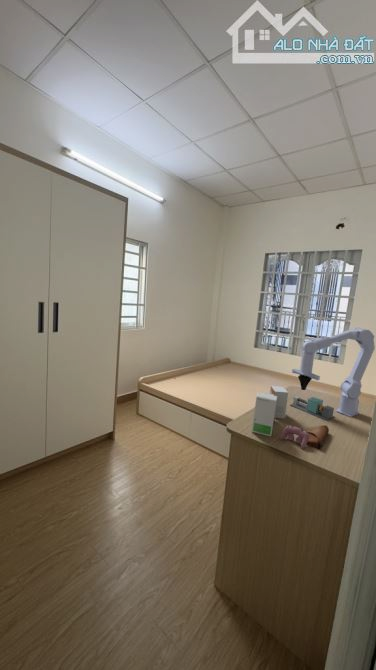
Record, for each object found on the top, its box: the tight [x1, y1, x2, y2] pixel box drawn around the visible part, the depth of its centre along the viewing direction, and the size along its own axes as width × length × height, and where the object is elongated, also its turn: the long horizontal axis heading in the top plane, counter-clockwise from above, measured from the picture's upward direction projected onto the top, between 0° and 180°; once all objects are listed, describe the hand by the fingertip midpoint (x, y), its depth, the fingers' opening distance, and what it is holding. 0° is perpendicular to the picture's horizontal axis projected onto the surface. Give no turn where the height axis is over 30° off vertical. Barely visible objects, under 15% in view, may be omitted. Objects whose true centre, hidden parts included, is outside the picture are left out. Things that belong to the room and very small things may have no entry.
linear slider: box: [292, 396, 335, 420], centre depth 142 cm, size 4×20×5 cm, turn 35°
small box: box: [269, 385, 289, 419], centre depth 134 cm, size 8×6×13 cm
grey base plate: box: [289, 401, 336, 421], centre depth 142 cm, size 8×20×1 cm, turn 36°
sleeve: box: [306, 396, 324, 413], centre depth 141 cm, size 6×5×6 cm
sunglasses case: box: [305, 425, 330, 451], centre depth 114 cm, size 18×7×7 cm
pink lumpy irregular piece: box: [279, 425, 309, 450], centre depth 110 cm, size 10×5×7 cm, turn 47°
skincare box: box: [251, 391, 277, 438], centre depth 116 cm, size 8×7×16 cm
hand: (303, 389), depth 146 cm, fingers closed
